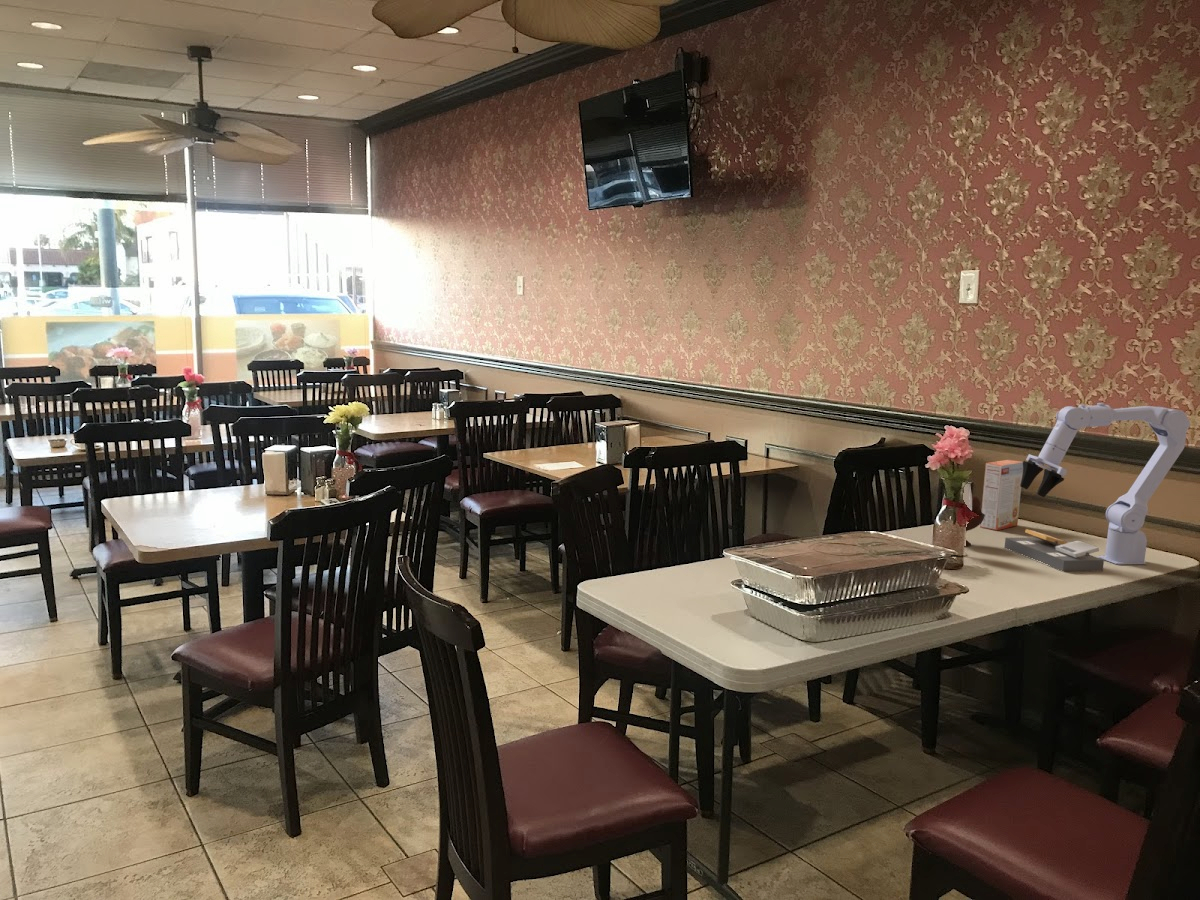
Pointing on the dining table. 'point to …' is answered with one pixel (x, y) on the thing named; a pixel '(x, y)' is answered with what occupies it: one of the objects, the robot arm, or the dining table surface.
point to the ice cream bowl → (976, 520)
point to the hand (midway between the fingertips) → (1031, 491)
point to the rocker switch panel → (1053, 555)
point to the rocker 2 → (1077, 549)
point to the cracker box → (1001, 494)
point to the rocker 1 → (1045, 537)
